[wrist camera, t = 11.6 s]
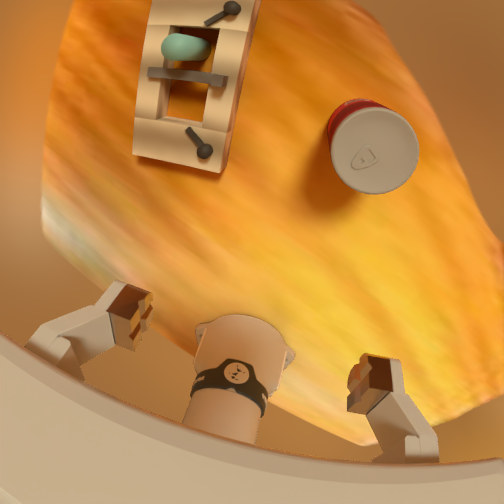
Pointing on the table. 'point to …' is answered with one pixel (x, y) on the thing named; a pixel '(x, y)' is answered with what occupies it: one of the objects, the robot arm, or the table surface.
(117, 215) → the table surface
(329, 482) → the robot arm
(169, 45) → the pale green rounded block
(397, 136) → the canned food
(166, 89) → the shelf
